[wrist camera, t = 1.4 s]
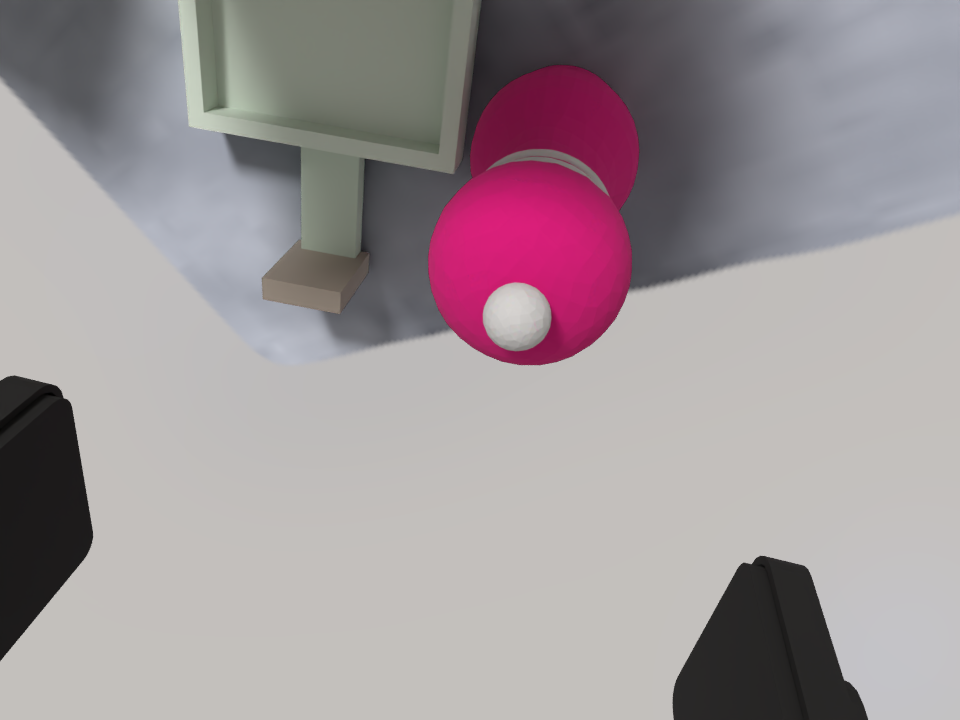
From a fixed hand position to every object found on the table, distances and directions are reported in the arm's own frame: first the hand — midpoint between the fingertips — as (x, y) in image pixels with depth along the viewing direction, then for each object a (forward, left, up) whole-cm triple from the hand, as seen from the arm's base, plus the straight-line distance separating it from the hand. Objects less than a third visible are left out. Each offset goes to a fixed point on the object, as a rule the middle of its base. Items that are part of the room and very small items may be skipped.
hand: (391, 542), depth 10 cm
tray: (+10, 0, -28) cm, 30 cm away
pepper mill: (-1, +1, -29) cm, 29 cm away
